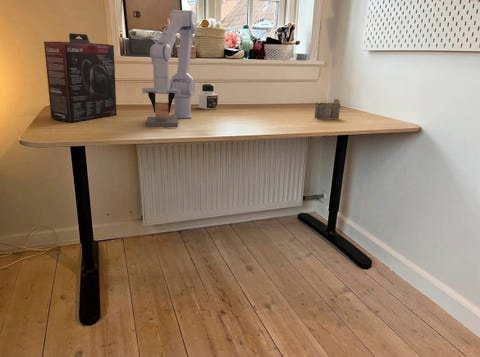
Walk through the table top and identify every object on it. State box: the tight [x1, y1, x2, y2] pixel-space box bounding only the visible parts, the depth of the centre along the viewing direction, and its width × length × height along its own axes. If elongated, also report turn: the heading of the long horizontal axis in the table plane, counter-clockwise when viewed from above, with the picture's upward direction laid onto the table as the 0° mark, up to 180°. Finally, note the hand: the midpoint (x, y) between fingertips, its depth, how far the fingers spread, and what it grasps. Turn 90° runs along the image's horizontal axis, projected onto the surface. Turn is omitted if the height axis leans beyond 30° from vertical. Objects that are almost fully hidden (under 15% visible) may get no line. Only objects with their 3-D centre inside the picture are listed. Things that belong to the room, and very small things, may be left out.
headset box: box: [43, 32, 117, 123], centre depth 156 cm, size 24×13×33 cm, turn 152°
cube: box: [154, 101, 170, 117], centre depth 152 cm, size 5×5×5 cm
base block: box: [145, 116, 179, 128], centre depth 154 cm, size 12×12×2 cm
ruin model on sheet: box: [314, 98, 341, 119], centre depth 183 cm, size 11×3×10 cm, turn 102°
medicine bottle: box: [198, 83, 219, 110], centre depth 196 cm, size 7×7×12 cm
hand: (162, 112), depth 153 cm, fingers closed on cube, 5 cm apart
